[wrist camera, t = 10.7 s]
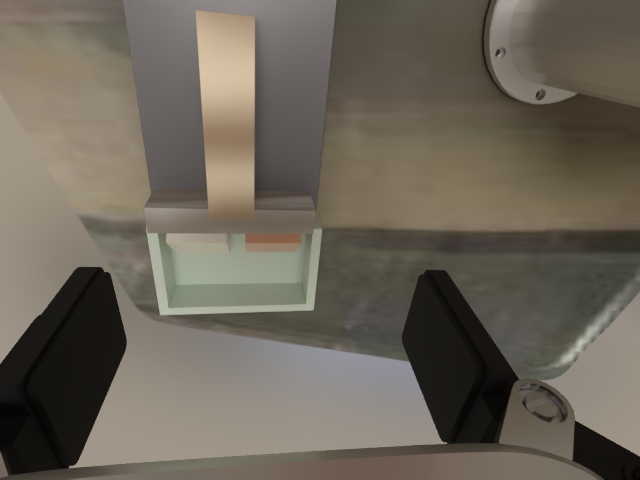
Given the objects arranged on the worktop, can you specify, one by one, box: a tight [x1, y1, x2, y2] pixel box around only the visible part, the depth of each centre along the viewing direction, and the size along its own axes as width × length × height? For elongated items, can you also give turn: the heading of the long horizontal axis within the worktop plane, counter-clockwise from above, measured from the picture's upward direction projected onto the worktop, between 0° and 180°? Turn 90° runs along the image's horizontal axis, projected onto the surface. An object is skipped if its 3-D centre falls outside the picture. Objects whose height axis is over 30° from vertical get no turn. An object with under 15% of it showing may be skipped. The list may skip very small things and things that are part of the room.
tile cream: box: [166, 233, 230, 253], centre depth 31 cm, size 4×4×2 cm
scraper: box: [143, 10, 316, 234], centre depth 25 cm, size 14×12×5 cm
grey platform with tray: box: [123, 0, 336, 315], centre depth 27 cm, size 36×14×4 cm, turn 175°
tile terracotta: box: [245, 234, 301, 252], centre depth 32 cm, size 4×4×2 cm
